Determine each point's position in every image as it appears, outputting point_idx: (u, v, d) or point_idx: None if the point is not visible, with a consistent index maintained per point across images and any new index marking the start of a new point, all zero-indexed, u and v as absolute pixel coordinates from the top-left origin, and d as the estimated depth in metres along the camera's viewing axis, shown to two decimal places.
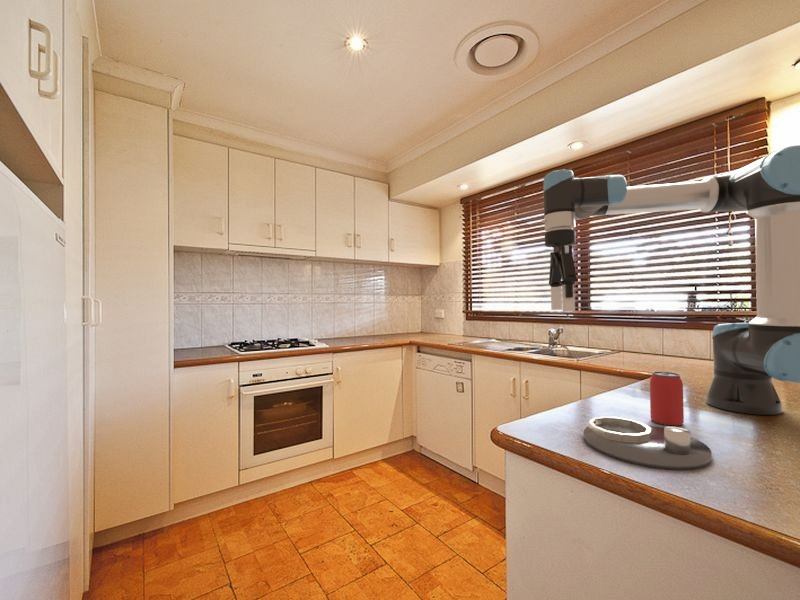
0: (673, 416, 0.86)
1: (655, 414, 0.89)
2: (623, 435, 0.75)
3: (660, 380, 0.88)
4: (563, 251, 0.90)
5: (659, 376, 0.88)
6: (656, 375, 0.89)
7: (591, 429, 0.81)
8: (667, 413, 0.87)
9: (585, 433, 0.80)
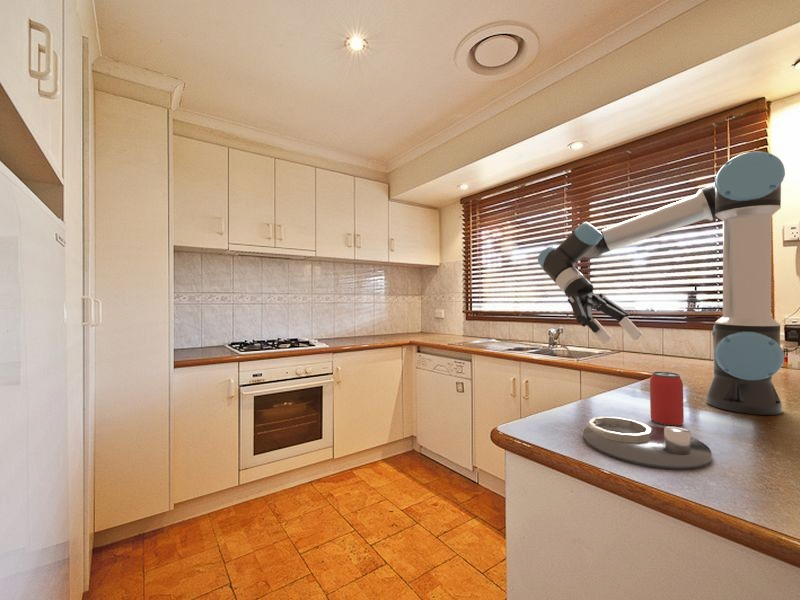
0: (673, 416, 0.86)
1: (655, 414, 0.89)
2: (623, 435, 0.75)
3: (660, 380, 0.88)
4: (570, 302, 1.05)
5: (659, 376, 0.88)
6: (656, 375, 0.89)
7: (591, 429, 0.81)
8: (667, 413, 0.87)
9: (585, 433, 0.80)
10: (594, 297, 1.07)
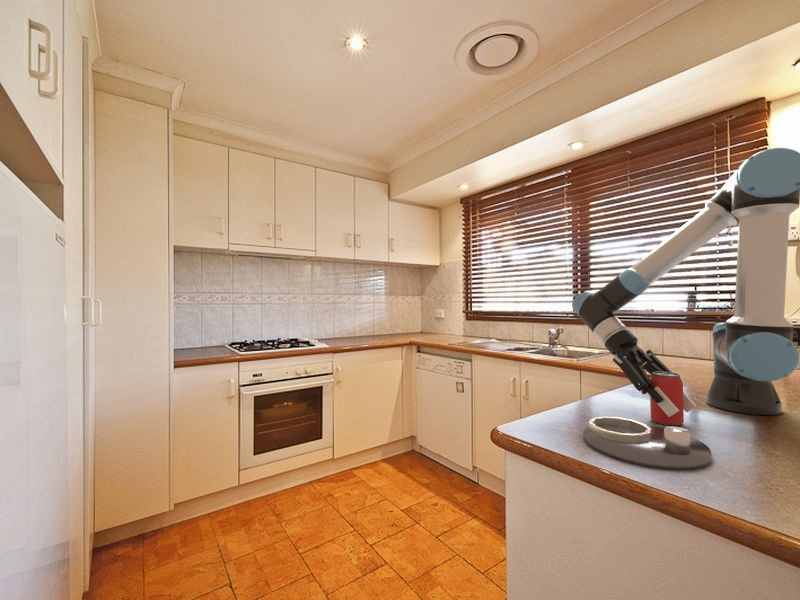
0: (673, 416, 0.86)
1: (655, 413, 0.89)
2: (623, 435, 0.75)
3: (660, 380, 0.88)
4: (617, 363, 0.94)
5: (659, 376, 0.88)
6: (656, 375, 0.89)
7: (591, 429, 0.81)
8: None
9: (585, 433, 0.80)
10: (638, 352, 0.96)
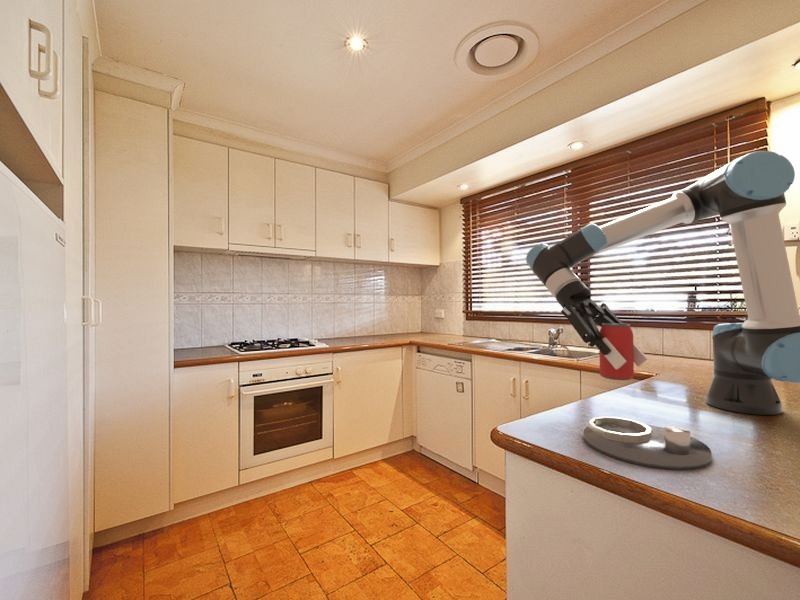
0: (621, 369, 0.78)
1: (603, 367, 0.81)
2: (623, 435, 0.75)
3: (608, 330, 0.79)
4: (566, 315, 0.86)
5: (607, 326, 0.80)
6: (605, 325, 0.81)
7: (591, 429, 0.81)
8: None
9: (585, 433, 0.80)
10: (590, 304, 0.88)
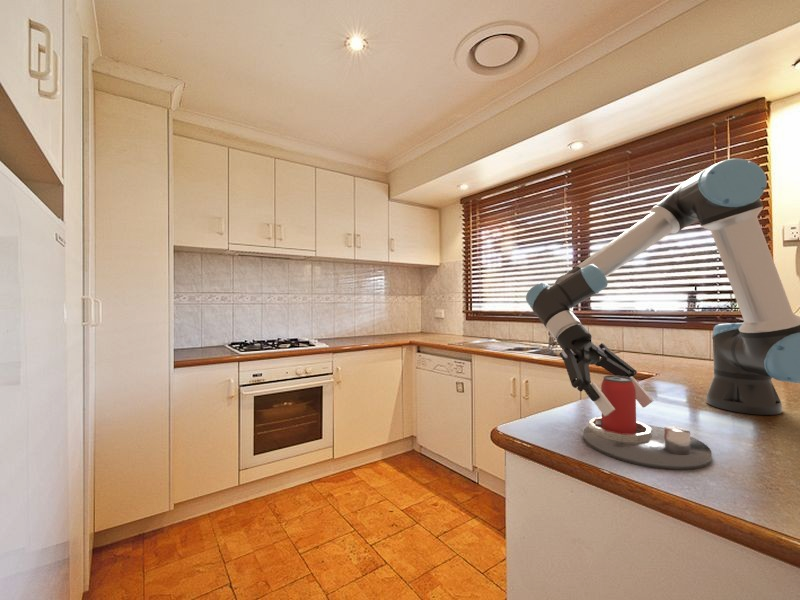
0: (624, 425, 0.77)
1: (605, 422, 0.80)
2: (623, 435, 0.75)
3: (610, 385, 0.79)
4: (563, 357, 0.85)
5: (609, 381, 0.79)
6: (607, 379, 0.80)
7: (591, 429, 0.81)
8: (617, 422, 0.78)
9: (585, 433, 0.80)
10: (592, 349, 0.87)
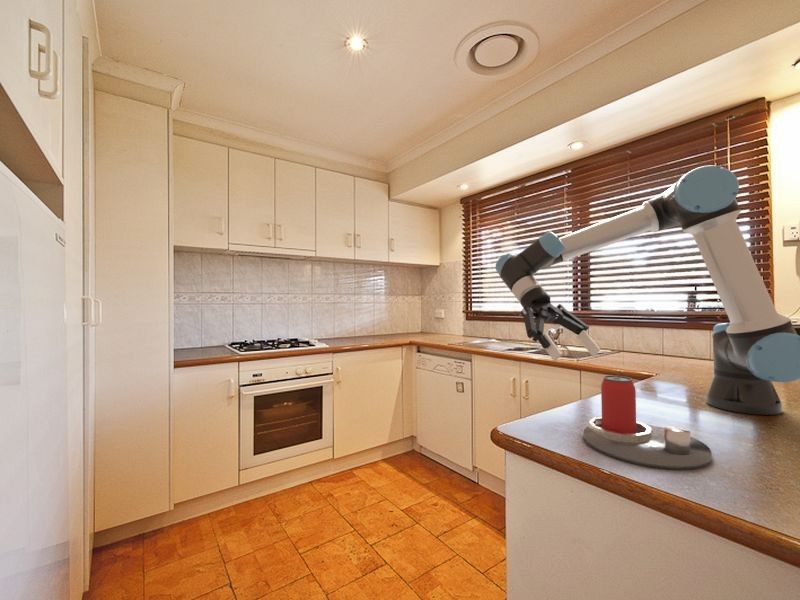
0: (624, 425, 0.77)
1: (605, 422, 0.80)
2: (623, 435, 0.75)
3: (610, 385, 0.79)
4: (523, 314, 0.97)
5: (609, 381, 0.79)
6: (607, 379, 0.80)
7: (591, 429, 0.81)
8: (617, 422, 0.78)
9: (585, 433, 0.80)
10: (550, 309, 0.98)
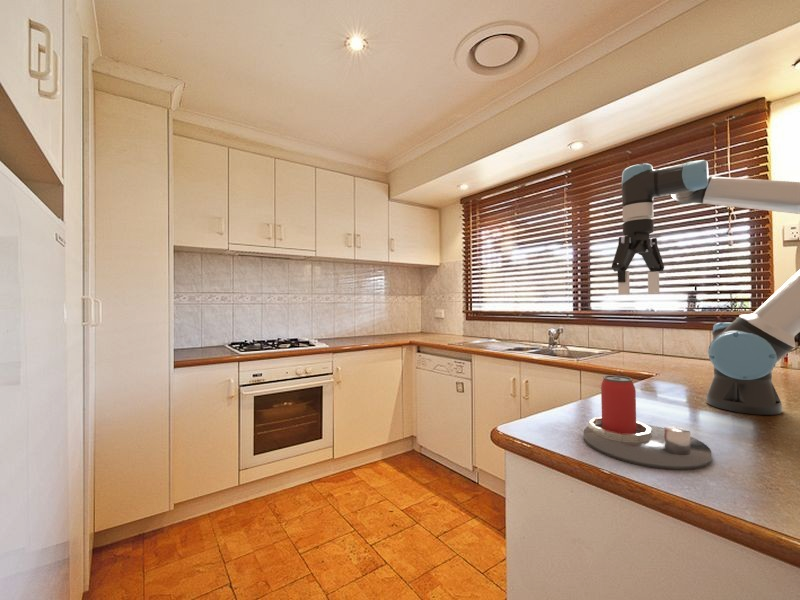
0: (624, 425, 0.77)
1: (605, 422, 0.80)
2: (623, 435, 0.75)
3: (610, 385, 0.79)
4: (619, 241, 1.03)
5: (609, 381, 0.79)
6: (607, 379, 0.80)
7: (591, 429, 0.81)
8: (617, 422, 0.78)
9: (585, 433, 0.80)
10: (645, 243, 1.04)
